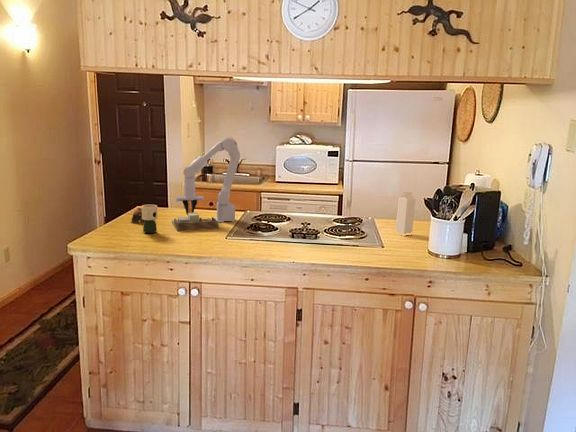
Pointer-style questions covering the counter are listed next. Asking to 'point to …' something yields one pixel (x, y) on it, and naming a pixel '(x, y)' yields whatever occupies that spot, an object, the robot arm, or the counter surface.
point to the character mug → (149, 218)
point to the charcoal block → (183, 219)
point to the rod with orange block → (192, 215)
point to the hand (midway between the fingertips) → (189, 214)
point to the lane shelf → (196, 225)
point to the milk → (405, 213)
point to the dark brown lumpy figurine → (137, 216)
